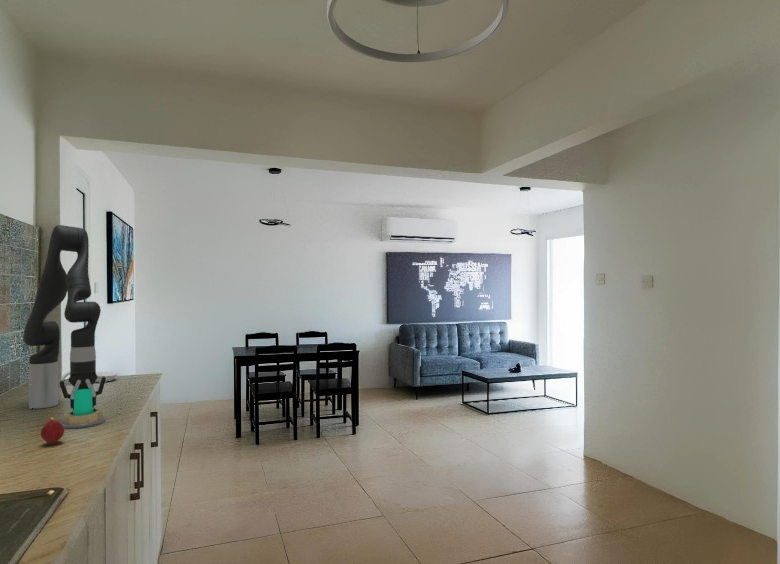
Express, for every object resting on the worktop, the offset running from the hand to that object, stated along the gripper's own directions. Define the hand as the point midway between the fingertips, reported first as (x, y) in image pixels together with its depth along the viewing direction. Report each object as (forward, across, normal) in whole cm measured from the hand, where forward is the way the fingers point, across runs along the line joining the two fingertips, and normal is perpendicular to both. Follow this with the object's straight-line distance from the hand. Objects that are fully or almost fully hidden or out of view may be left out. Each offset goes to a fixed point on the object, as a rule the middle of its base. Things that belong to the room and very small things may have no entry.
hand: (83, 408), depth 169 cm
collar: (+5, 0, 0) cm, 5 cm away
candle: (+4, 0, 0) cm, 4 cm away
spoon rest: (+6, -3, -77) cm, 77 cm away
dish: (+5, 0, 0) cm, 5 cm away
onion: (+5, +8, +20) cm, 22 cm away
